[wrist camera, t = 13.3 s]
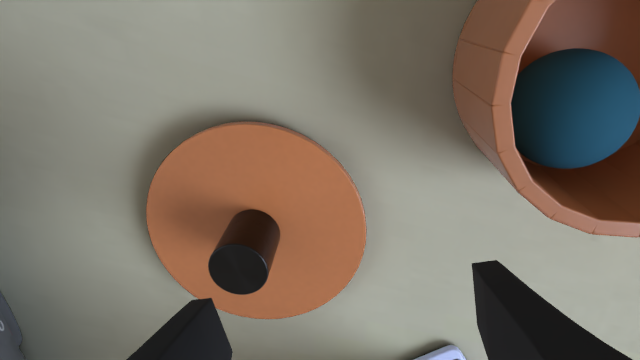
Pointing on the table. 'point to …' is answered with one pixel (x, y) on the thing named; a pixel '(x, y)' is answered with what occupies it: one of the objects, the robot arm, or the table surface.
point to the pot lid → (256, 220)
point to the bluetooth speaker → (9, 334)
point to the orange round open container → (497, 90)
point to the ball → (574, 108)
